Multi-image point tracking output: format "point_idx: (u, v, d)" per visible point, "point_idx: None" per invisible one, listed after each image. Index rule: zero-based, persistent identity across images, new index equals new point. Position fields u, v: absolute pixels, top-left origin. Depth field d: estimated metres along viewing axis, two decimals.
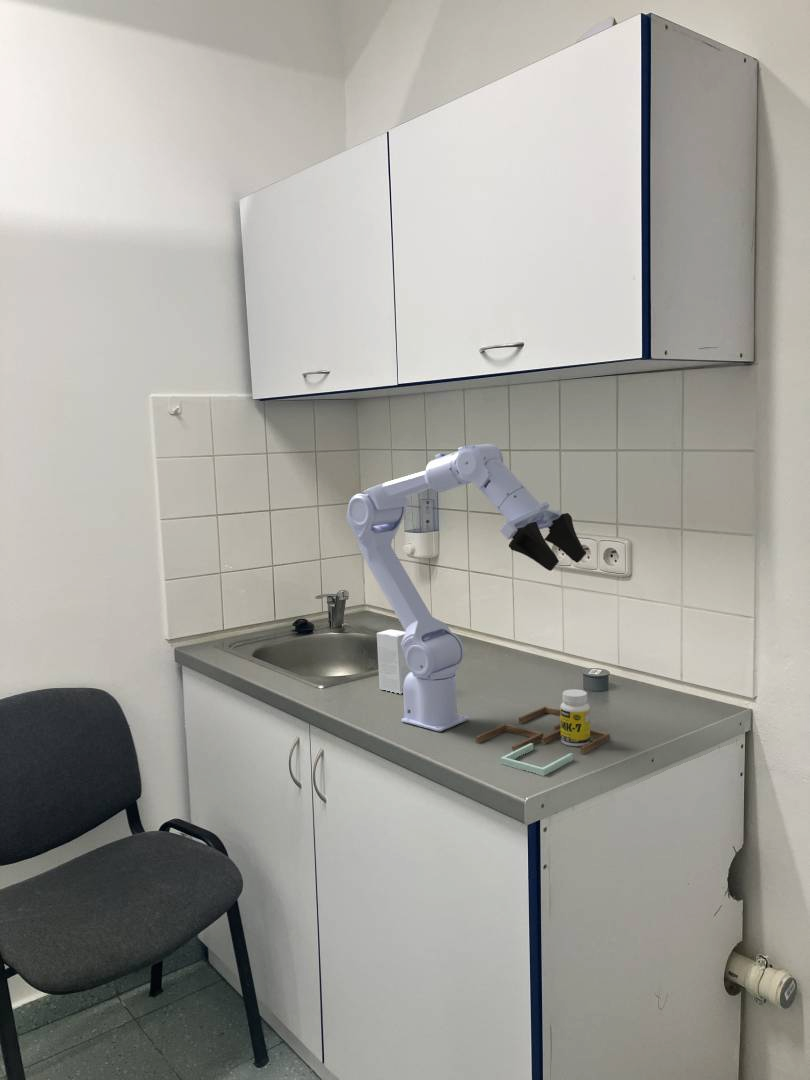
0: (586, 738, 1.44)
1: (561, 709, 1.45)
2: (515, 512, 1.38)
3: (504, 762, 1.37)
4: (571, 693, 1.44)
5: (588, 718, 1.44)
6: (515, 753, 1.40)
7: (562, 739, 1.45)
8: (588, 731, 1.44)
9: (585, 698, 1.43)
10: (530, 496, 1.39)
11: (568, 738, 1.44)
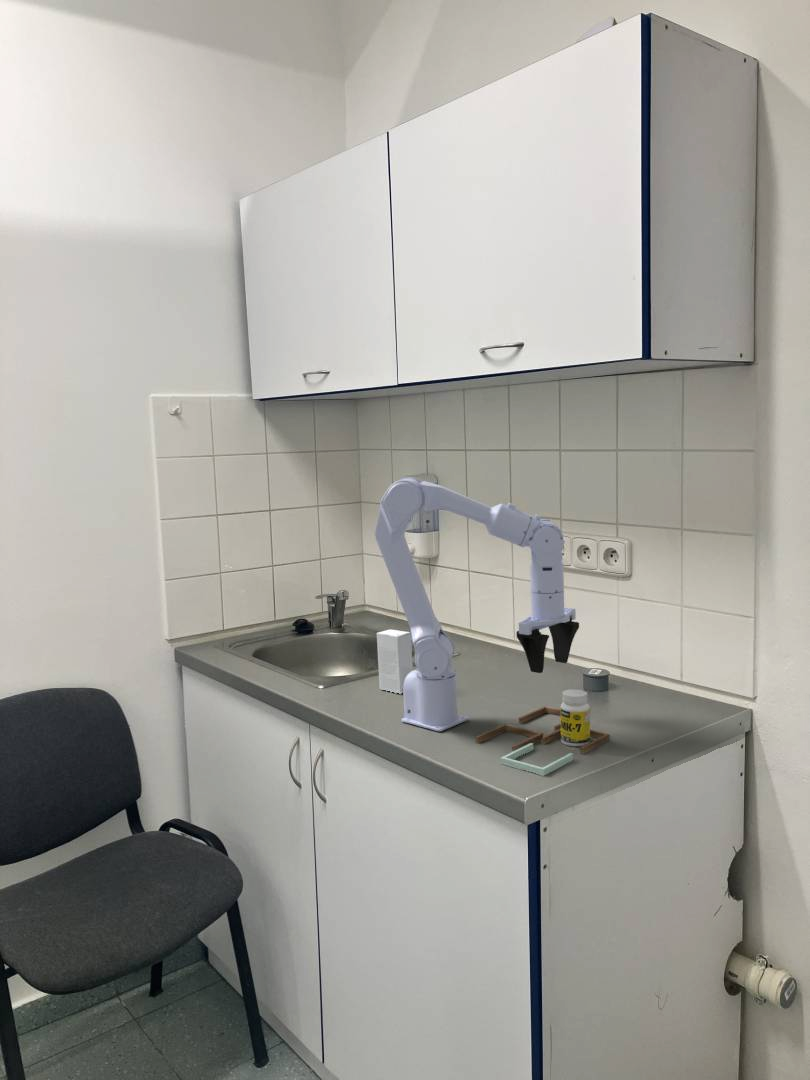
0: (586, 738, 1.44)
1: (561, 709, 1.45)
2: (541, 609, 1.51)
3: (504, 762, 1.37)
4: (570, 693, 1.44)
5: (588, 718, 1.44)
6: (515, 753, 1.40)
7: (562, 739, 1.45)
8: (588, 731, 1.44)
9: (585, 698, 1.43)
10: (561, 603, 1.51)
11: (568, 738, 1.44)
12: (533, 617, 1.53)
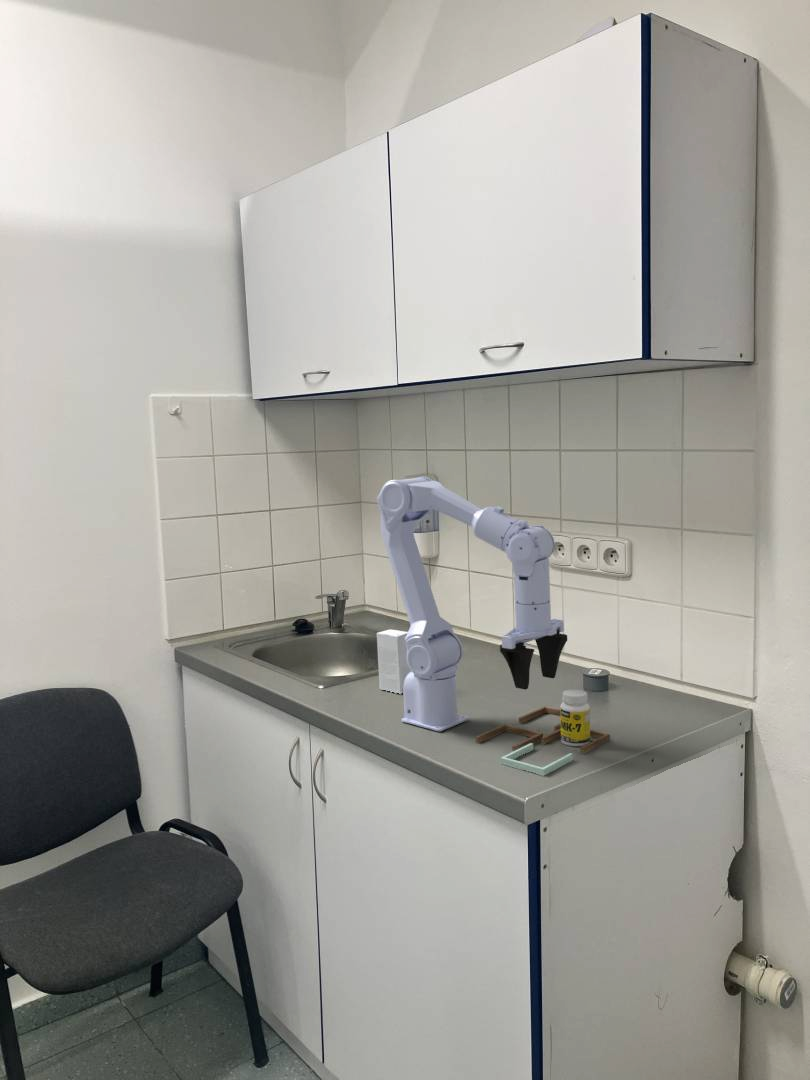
0: (586, 738, 1.44)
1: (561, 709, 1.45)
2: (525, 621, 1.42)
3: (504, 762, 1.37)
4: (571, 693, 1.44)
5: (588, 718, 1.44)
6: (515, 753, 1.40)
7: (562, 739, 1.45)
8: (588, 731, 1.44)
9: (585, 698, 1.43)
10: (547, 615, 1.42)
11: (568, 738, 1.44)
12: (517, 630, 1.43)
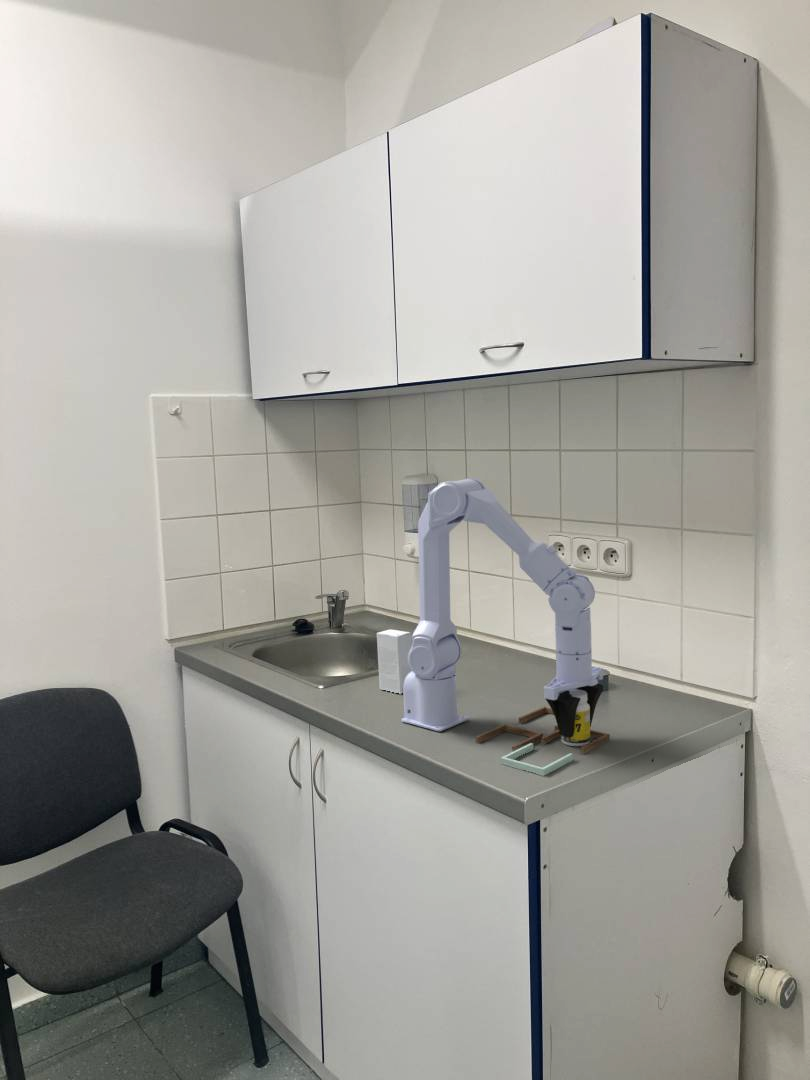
0: (586, 738, 1.44)
1: None
2: (567, 671, 1.42)
3: (504, 762, 1.37)
4: (570, 693, 1.44)
5: (588, 718, 1.44)
6: (515, 753, 1.40)
7: (562, 739, 1.45)
8: (588, 731, 1.44)
9: (585, 698, 1.43)
10: (588, 665, 1.42)
11: (568, 738, 1.44)
12: (558, 679, 1.43)
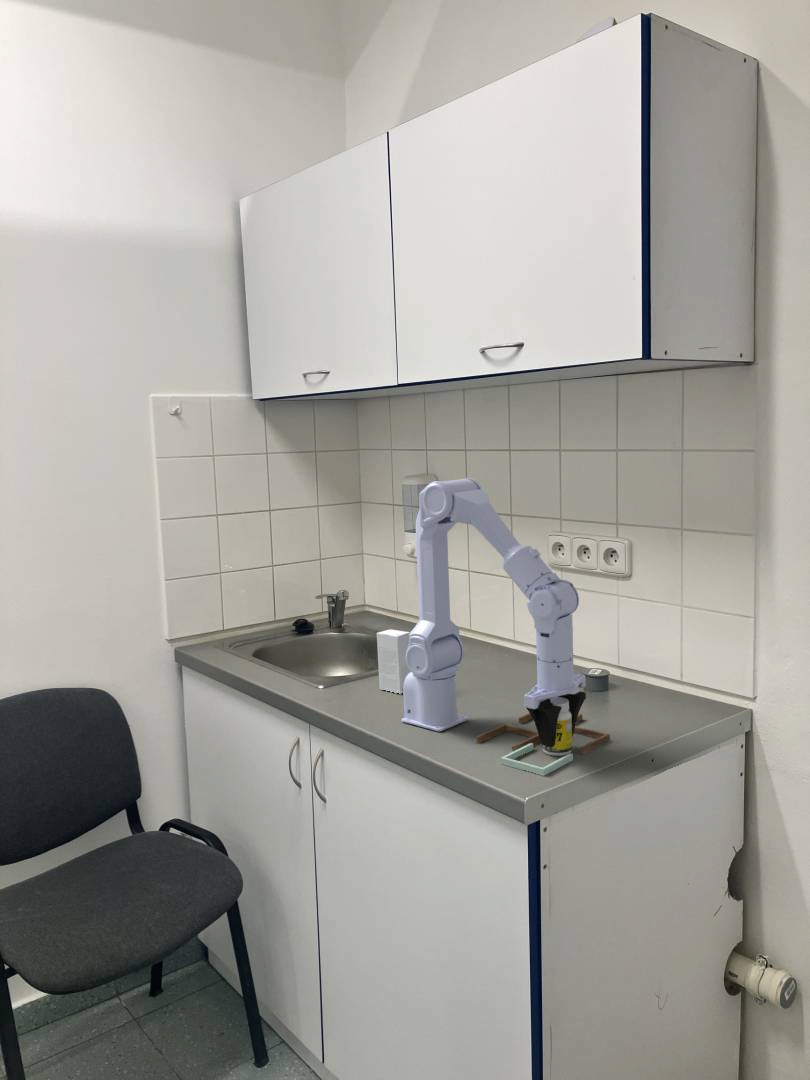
0: (568, 747, 1.40)
1: None
2: (548, 679, 1.38)
3: (504, 762, 1.37)
4: (552, 701, 1.40)
5: (569, 727, 1.40)
6: (515, 753, 1.40)
7: (543, 748, 1.41)
8: (570, 740, 1.40)
9: (566, 706, 1.40)
10: (570, 673, 1.38)
11: (548, 747, 1.40)
12: (539, 687, 1.39)
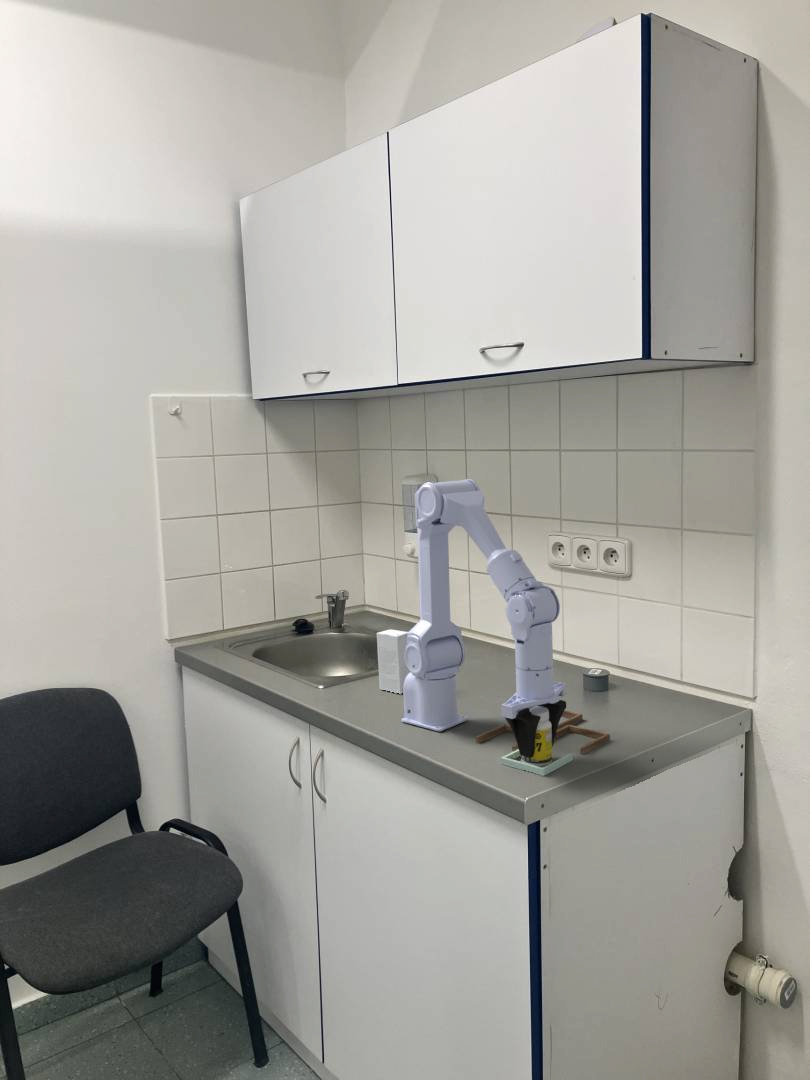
0: (548, 758, 1.36)
1: None
2: (527, 687, 1.34)
3: (504, 762, 1.37)
4: (531, 710, 1.36)
5: (549, 737, 1.36)
6: (515, 753, 1.40)
7: (522, 759, 1.37)
8: (549, 750, 1.36)
9: (546, 715, 1.36)
10: (549, 681, 1.34)
11: (528, 758, 1.36)
12: (518, 696, 1.35)
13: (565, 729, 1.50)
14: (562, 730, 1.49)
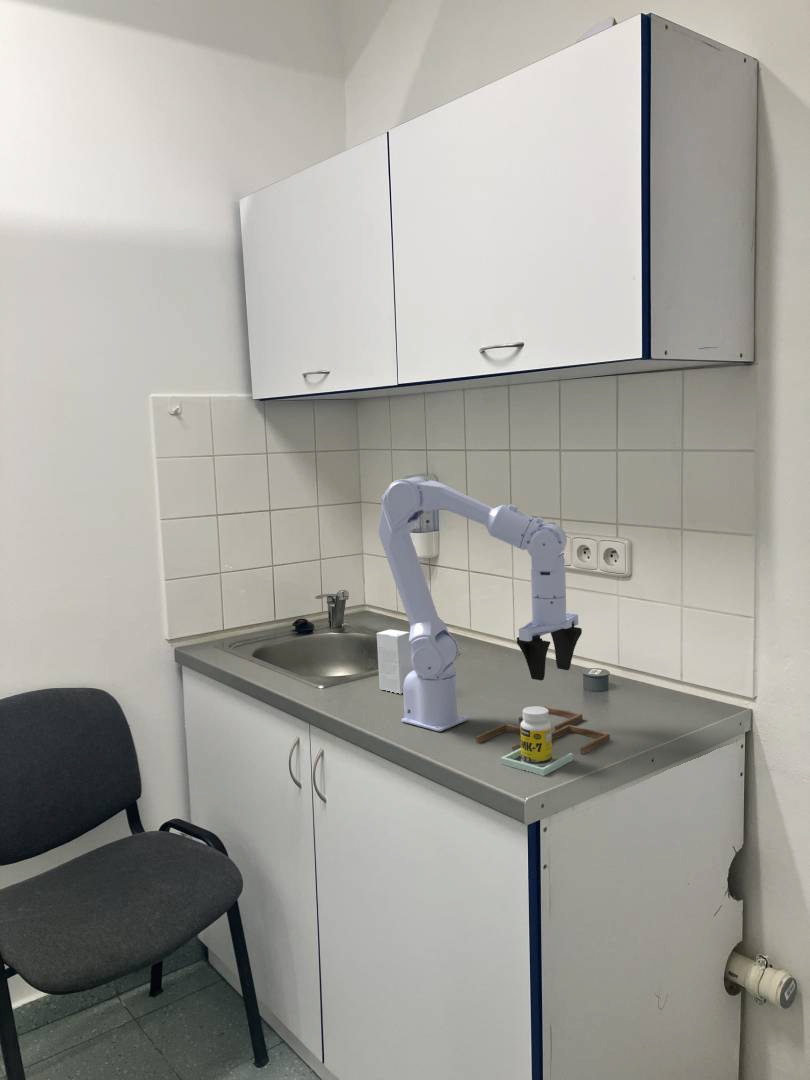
0: (548, 758, 1.36)
1: (521, 727, 1.37)
2: (542, 614, 1.47)
3: (504, 762, 1.37)
4: (531, 711, 1.36)
5: (549, 737, 1.36)
6: (515, 753, 1.40)
7: (522, 759, 1.37)
8: (549, 751, 1.36)
9: (546, 716, 1.35)
10: (562, 609, 1.47)
11: (528, 758, 1.36)
12: (534, 623, 1.48)
13: (565, 729, 1.50)
14: (562, 730, 1.49)
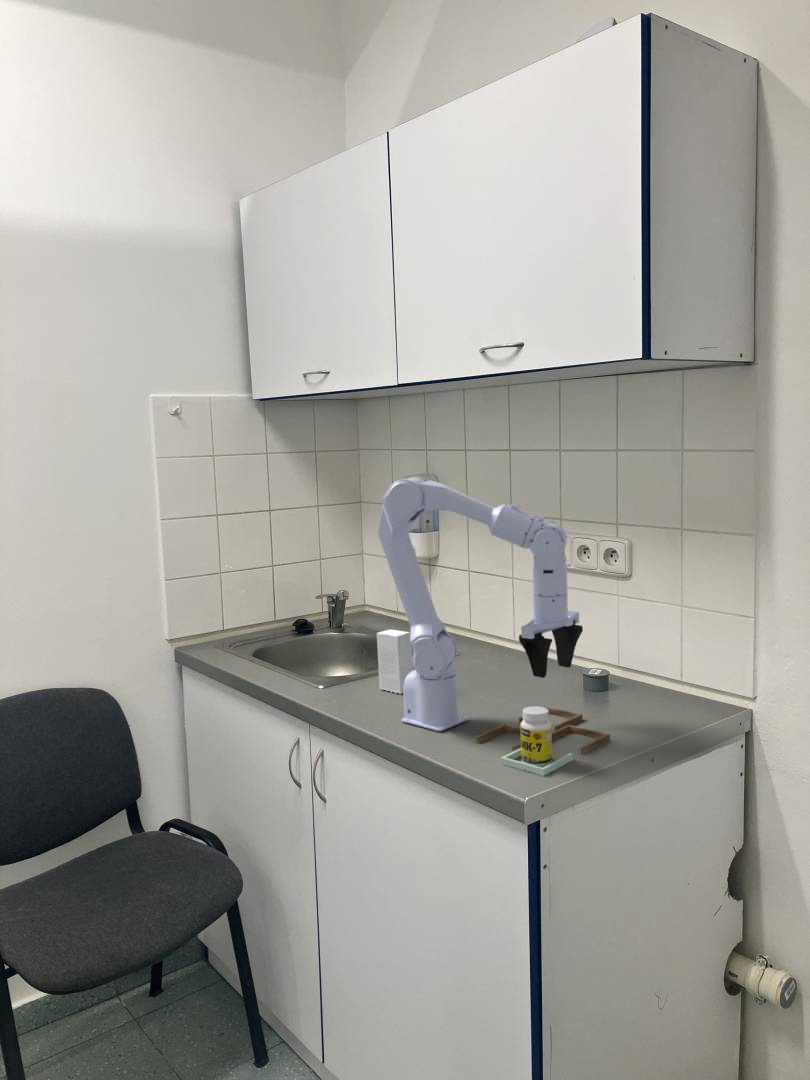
0: (548, 758, 1.36)
1: (521, 727, 1.37)
2: (544, 612, 1.48)
3: (504, 762, 1.37)
4: (531, 711, 1.36)
5: (549, 737, 1.36)
6: (515, 753, 1.40)
7: (522, 759, 1.37)
8: (549, 751, 1.36)
9: (546, 716, 1.35)
10: (564, 607, 1.49)
11: (528, 758, 1.36)
12: (535, 621, 1.50)
13: (565, 729, 1.50)
14: (562, 730, 1.49)
